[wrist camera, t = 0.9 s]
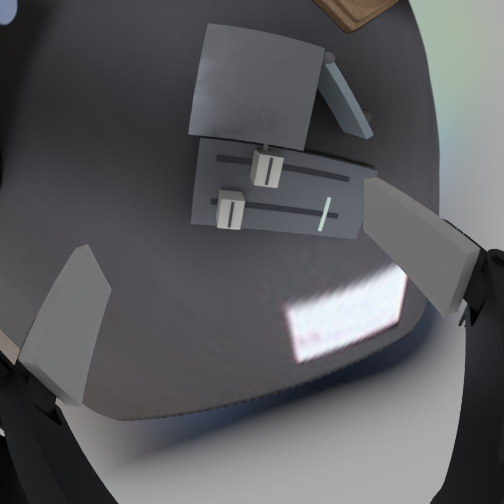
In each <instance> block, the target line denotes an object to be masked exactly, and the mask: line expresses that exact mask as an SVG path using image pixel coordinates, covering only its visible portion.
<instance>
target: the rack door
mask: <svg viewBox="0 0 504 504" xmlns="http://www.w3.org/2000/svg"><path fill="white" fill-rule="evenodd" d="M335 59H336V58H335V55H334V54H333V53H332V52H325V53H324V56H323V61H322V66H321V71H320V76H319V81H318V85H317V88H318V89H319V91H320V93H321V94H322V96H323V97H324V99H325V101H326V102H327V104H328V106H329V107H330V109H331V111H332V113H333V114H334V116H335V118H336V120H337V121H338V123H339V125H340V127H341V129H342V131H343V132H346V133H349V134H352V135H355V136H358V137H361V138H364V139H368V138H370V137H371V136H373V133H372V130H371V128H370V126H369V124H368V123H369V122H370V121H372V116H371V114H370V113H369V112H368V111H367V110H364V111H362V110H361V108H360V106H359V104H358V102H357V101H356V99H355V97H354V95H353V93H352V91H351V90H350V88H349V86H348V84H347V83H346V81H345V79H344V77H343V76H342V74H341V72H340V71H339V69H338V67H337V66H336V64H335V63H334V62H335Z"/></svg>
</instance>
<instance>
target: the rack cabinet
mask: <svg viewBox="0 0 504 504" xmlns="http://www.w3.org/2000/svg"><path fill="white" fill-rule="evenodd" d="M324 51H325V48H323V47H320V46H317V45H314V44H310V43H307V42H303V41H300V40H296V39H293V38H289V37H285V36H281V35H276V34H272V33H267V32H263V31H258V30H252V29H247V28H241V27H234V26H227V25H219V24H209V23H208V26H207V31H206V35H205V40H204V44H203V49H202V54H201V59H200V64H199V69H198V75H197V80H196V86H195V92H194V98H193V104H192V111H191V118H190V125H189V132H188V134H189V135H200V136H210V137H220V138H228V139H236V140H243V141H250V142H257V143H263V144H269V145H275V146H281V147H286V148H292V149H297V150H302V151H303V150H304V146H305V141H306V137H307V132H308V128H309V123H310V118H311V114H312V109H313V105H314V100H315V95H316V90H317V85H318V81H319V76H320V71H321V66H322V61H323V56H324Z"/></svg>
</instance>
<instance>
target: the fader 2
mask: <svg viewBox="0 0 504 504" xmlns="http://www.w3.org/2000/svg"><path fill="white" fill-rule="evenodd" d="M283 160H284V158H283V157H282V156H281V155H280V154H278V153H277V152H272V151H266V150H260V149H255V150H254V155H253V161H252V166H251V172H250V179H251V181H252V182H253V184H254V185H256V186H264V187H272V188H277V187H278V183H279V178H280V174H281V169H282V164H283Z"/></svg>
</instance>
